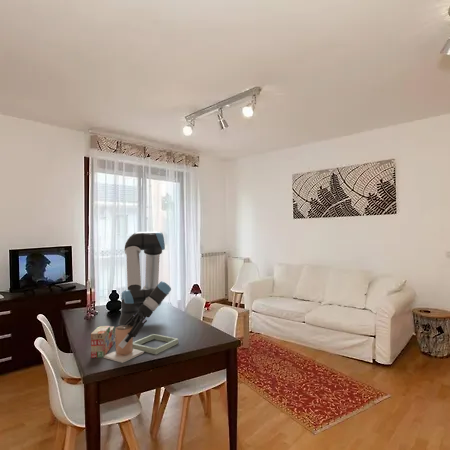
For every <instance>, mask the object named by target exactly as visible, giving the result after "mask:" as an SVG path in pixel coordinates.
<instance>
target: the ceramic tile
mask: <svg viewBox="0 0 450 450" xmlns="http://www.w3.org/2000/svg"><path fill="white" fill-rule="evenodd" d="M144 353H145V352H144V351H141V350H136V349H133V351H132V352H131V353H129V354H123V355H120V354H116V350H115V351H112V352H108V353H107V354H106V355H105V356H104V357H103V358H104V359H108V360H110V361H115V362H118V363H122V364H123V363H125V362H127V361H129V360H132V359H134V358H136V357H138V356H141V355H143V354H144Z"/></svg>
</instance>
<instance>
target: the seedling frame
mask: <svg viewBox="0 0 450 450" xmlns="http://www.w3.org/2000/svg"><path fill="white" fill-rule="evenodd" d="M152 340H156V341H160V342H166V343H164V344H162V345H160V346H158V347H153V346H152V347H151V346H147V345H144V344H146V343H148V342H150V341H152ZM178 344H179V338H176V337H172V336H166V335H161V334H155V333H151V334H150V335H147V336H145V337H142V338H140V339H137V340H135V341H133V349H136V350H141V351H144V353H147V354H154V355H158V354H159V353H162V352H164V351H166V350H168V349H170V348H173V346H176V345H178Z"/></svg>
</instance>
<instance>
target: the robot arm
mask: <svg viewBox="0 0 450 450" xmlns="http://www.w3.org/2000/svg"><path fill="white" fill-rule="evenodd" d="M165 248H166V243H165V237H164V234H163V232H161V231H137V232H134V233H133V234H131V235H130V236H129V237H128V238H127V240H126V242H125V244H124V254H125V255H126V283H127V284H126V285H127V286H126V287H127V289H125V290H123V291H122V292H121V295H120V296H121V298H120V299H121V307H120V308H121V309H120V310H121V312H120V313H121V314H120V316H119V320H118V326H122V325H131V326H133V327H132V329H131V331H130V333H128V334H129V335H128V334H127V335H126V336H125V338H124V339H123V340H122V341H121V343H120V344H119V346H120V347H121V348H122V349H123V348H124V347H125V345H126V344H127V343H128V342H129V340H130V339H131V338H132V337H133V338H136V337H137V335H138V334H139V332H140V331H141V330H142V328H143V327H144V325H145V324H146V323H147V322H148V320H147V319H146V318H150V317H151V316H152V314H153V313H154V312H155V311H156V310H157V308H159V306H161V304H162V302H163V301H164V300H165V298H166V297H167V296H168V295H169V294H170V292H171V290H172V287H171V286H170V285H169V284H167V283H166V282H165V281H160V280H159V276H160V256H161V254H163V251H164V250H166V249H165ZM141 251H143V253H144V254H145V255H146V257H145V278H144V279H145V284H144V286H143V288H142V280H141V262H140V253H141ZM113 341H114V342H115V338H114V339H113Z"/></svg>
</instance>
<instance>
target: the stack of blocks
mask: <svg viewBox="0 0 450 450" xmlns="http://www.w3.org/2000/svg"><path fill="white" fill-rule="evenodd" d="M115 328H116V326H110V325H101V326H98V327H96V329H94V330H93V331H92V332H91V333H90V358H91V359H94V358H95V357H96V358H104V356H105V355H107V354H108V353H109V351H110V350H111V348H112V347H113V346H114V344H115V342H114V341H113V339H114V338H115Z"/></svg>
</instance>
